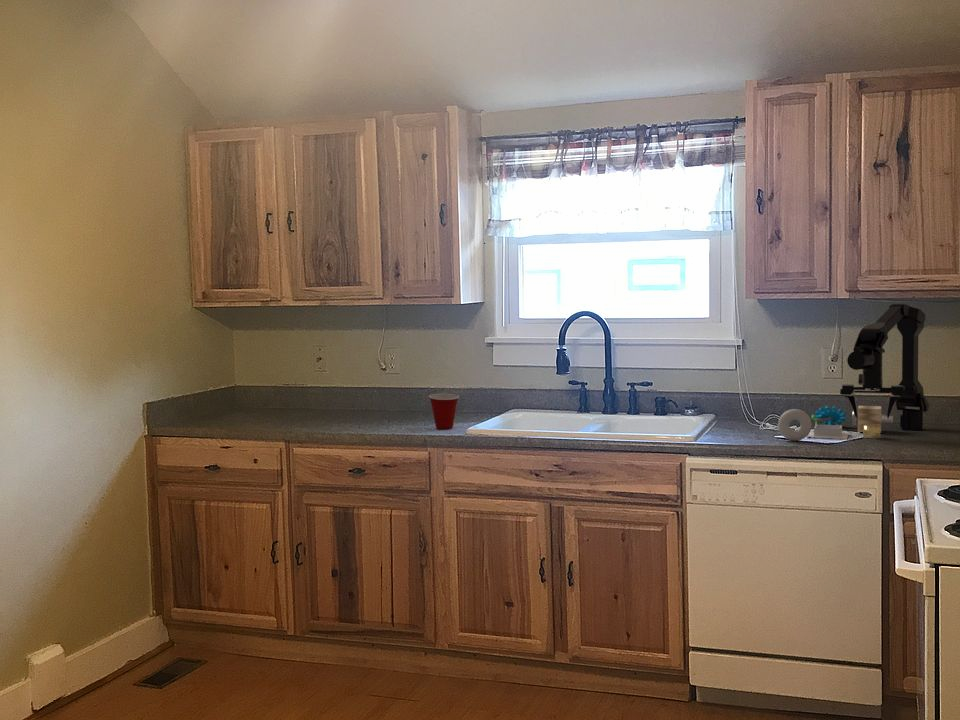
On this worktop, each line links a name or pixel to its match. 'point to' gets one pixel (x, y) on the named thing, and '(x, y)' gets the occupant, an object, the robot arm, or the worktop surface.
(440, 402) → the plastic cup
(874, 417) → the bearing block
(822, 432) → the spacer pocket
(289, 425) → the worktop surface
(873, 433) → the cylinder
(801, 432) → the donut
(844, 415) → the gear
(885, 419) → the shaft
